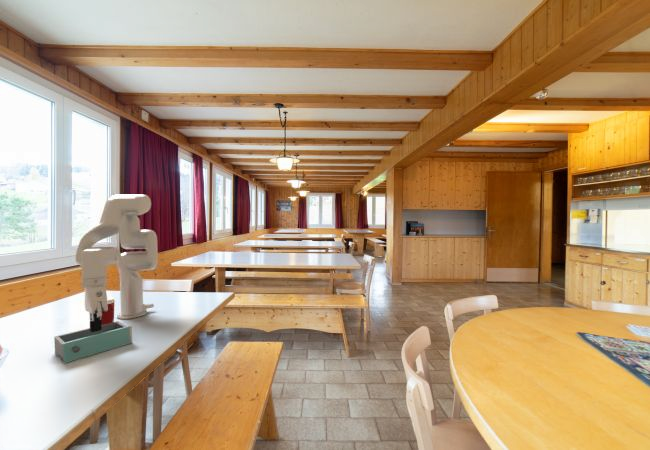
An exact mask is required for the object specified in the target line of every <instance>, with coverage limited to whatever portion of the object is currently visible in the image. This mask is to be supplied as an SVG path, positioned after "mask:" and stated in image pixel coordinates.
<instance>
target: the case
mask: <svg viewBox="0 0 650 450" xmlns="http://www.w3.org/2000/svg"><path fill="white" fill-rule="evenodd" d="M127 326H128V325H126V324H124V323H122V322H121V321H114V322H113V323H108V324H104V325H102V329H101V330H100V331H96V332H91V331H90V327H89V328H84V329H80V330H77V331H73V332H68V333H64V334H59V335H54V337H53V338H54V353H55V355H56V356H57V357H58V359H60V360H61V362H62V363H64V361H63V343H65V342H69V341H73V340H77V339H81V338H84V337H88V336H92V335H96V334H100V333H104V332H108V331H111V330H115V329H119V328H123V327H127Z"/></svg>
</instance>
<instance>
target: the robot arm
mask: <svg viewBox="0 0 650 450" xmlns="http://www.w3.org/2000/svg"><path fill="white" fill-rule="evenodd" d="M103 207H104V208H103V211H102V214H101V217H100V220H99V223H98V224H97V225H95V226H94V227H92V228H91V229H90V230H89V231H87V232H86V233H85V234H84V235H83V236H82V237H81V239H80V240H79V243H78V246H77V249H76V252H75V261H76V263H77V265H79V266H80V268H81V288H83V289H84V310H85V311H86V312H88V314H89V316H88V317H89V328H90V331H91V332H96V331H100V330H101V329H102V325H101V317H102V311H104V312H107V310H108V305H107V298H108V295H107V294H108V293H107V289H106V286H107V285H108V279H107V277H108V276H107V275H108V274H107V267H108V266H110V267H111V266H114V265H116V266H117V270H118V276H119V294H120V295H119V296H120V298H119V299H120V313H119V312H118V314H117V317H116V318H118V319H119V320H128V319H129V320H130V319H135V318H139V317H142V316H145V315H146V314H147V313H148V309H150V308H154V307H155V305H154V303H150V304H149V303H146V304H145V303H144V293H143V291H144V288H143V287H144V285H143V284H144V283H143V278H142V275H140V273H139V271H141V272H142V271H153V270H155V269H157V267H158V263H159V262H158V261H159V259H158V256H159V255H158V253H159V251H158V235H157V234H156V232H155V231H154V230H152V229H141V225H140V223H141V221H140V218H139V217H138V216H141V215H144V214H146V213H147V212H149V211H150V210H151V207H152V200H151V198H150V197H149V195H147V194H127V193H126V194H115V195H111V196H110V197H109V198H108V199H107V200H106V201H105V204H104V206H103ZM117 234H119V241H120V247H121V248H122V249H125V250H141V249H144V250H145V251H124V252H121V251H120V250H119V248H117V247H116V246H115V247H114V246H94V245H95V244H96V243H99V242H100V241H102V240H104V239H108V238H110V237H112V236H115V235H117Z"/></svg>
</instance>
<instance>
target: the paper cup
mask: <svg viewBox="0 0 650 450" xmlns="http://www.w3.org/2000/svg"><path fill="white" fill-rule="evenodd" d="M115 302H116V300H115V298H114V297H107V305H108V310H107V312H104V311H102V317H101V325H104V324H108V323H113V322H115Z"/></svg>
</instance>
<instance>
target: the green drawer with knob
mask: <svg viewBox="0 0 650 450" xmlns="http://www.w3.org/2000/svg"><path fill="white" fill-rule="evenodd" d="M126 326H127V327H123V328H119V329H115V330H111V331H108V332H104V333H100V334H96V335H92V336H88V337H84V338H81V339H77V340H73V341H69V342H65V343H63V361H64V362H63V363H64V364H65V363H68V362H71V361H75V360H79V359H83V358H86V357H89V356H92V355H96V354H99V353H102V352H105V351H108V350H112V349H116V348H119V347H122V346H126V345H129V344H133V326H132V325H126Z"/></svg>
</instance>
